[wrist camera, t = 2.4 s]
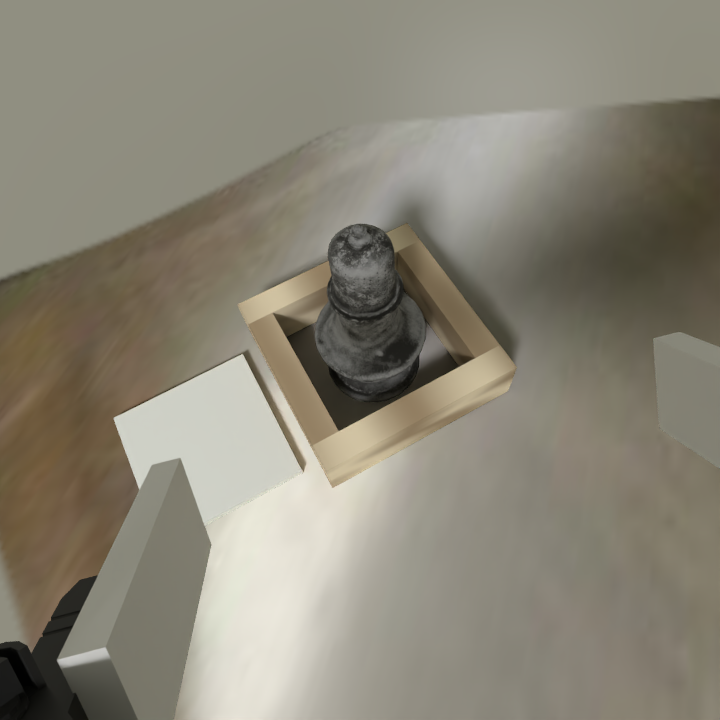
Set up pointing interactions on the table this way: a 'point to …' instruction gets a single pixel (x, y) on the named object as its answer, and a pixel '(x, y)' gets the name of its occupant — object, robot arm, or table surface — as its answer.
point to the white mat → (212, 438)
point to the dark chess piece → (368, 318)
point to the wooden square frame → (408, 414)
